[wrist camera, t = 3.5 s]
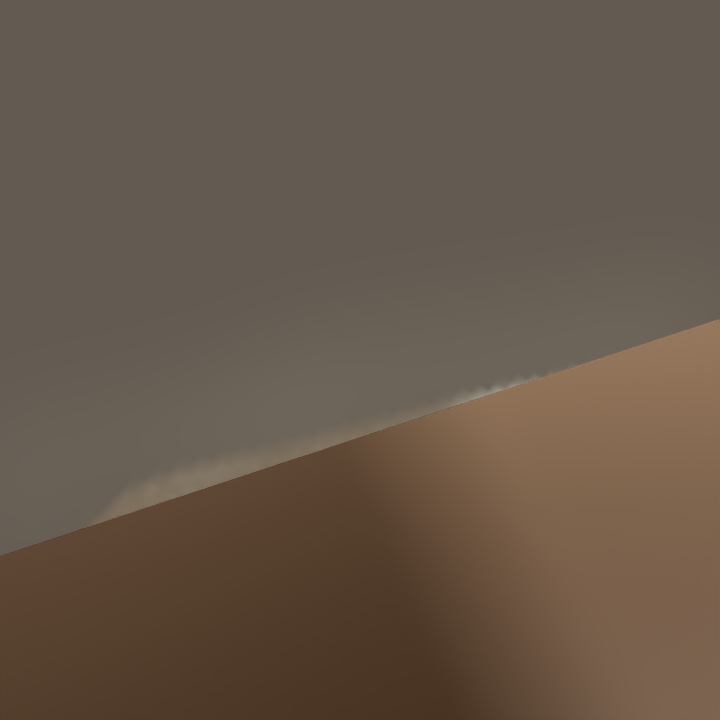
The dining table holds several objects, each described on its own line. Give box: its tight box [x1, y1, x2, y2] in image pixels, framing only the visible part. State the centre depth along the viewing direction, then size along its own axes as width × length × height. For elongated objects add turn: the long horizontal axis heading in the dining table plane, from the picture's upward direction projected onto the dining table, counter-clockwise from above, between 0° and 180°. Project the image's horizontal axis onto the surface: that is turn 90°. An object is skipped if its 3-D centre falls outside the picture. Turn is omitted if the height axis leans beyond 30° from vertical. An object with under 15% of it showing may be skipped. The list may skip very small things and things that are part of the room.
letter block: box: [0, 319, 720, 720], centre depth 8 cm, size 5×5×12 cm
